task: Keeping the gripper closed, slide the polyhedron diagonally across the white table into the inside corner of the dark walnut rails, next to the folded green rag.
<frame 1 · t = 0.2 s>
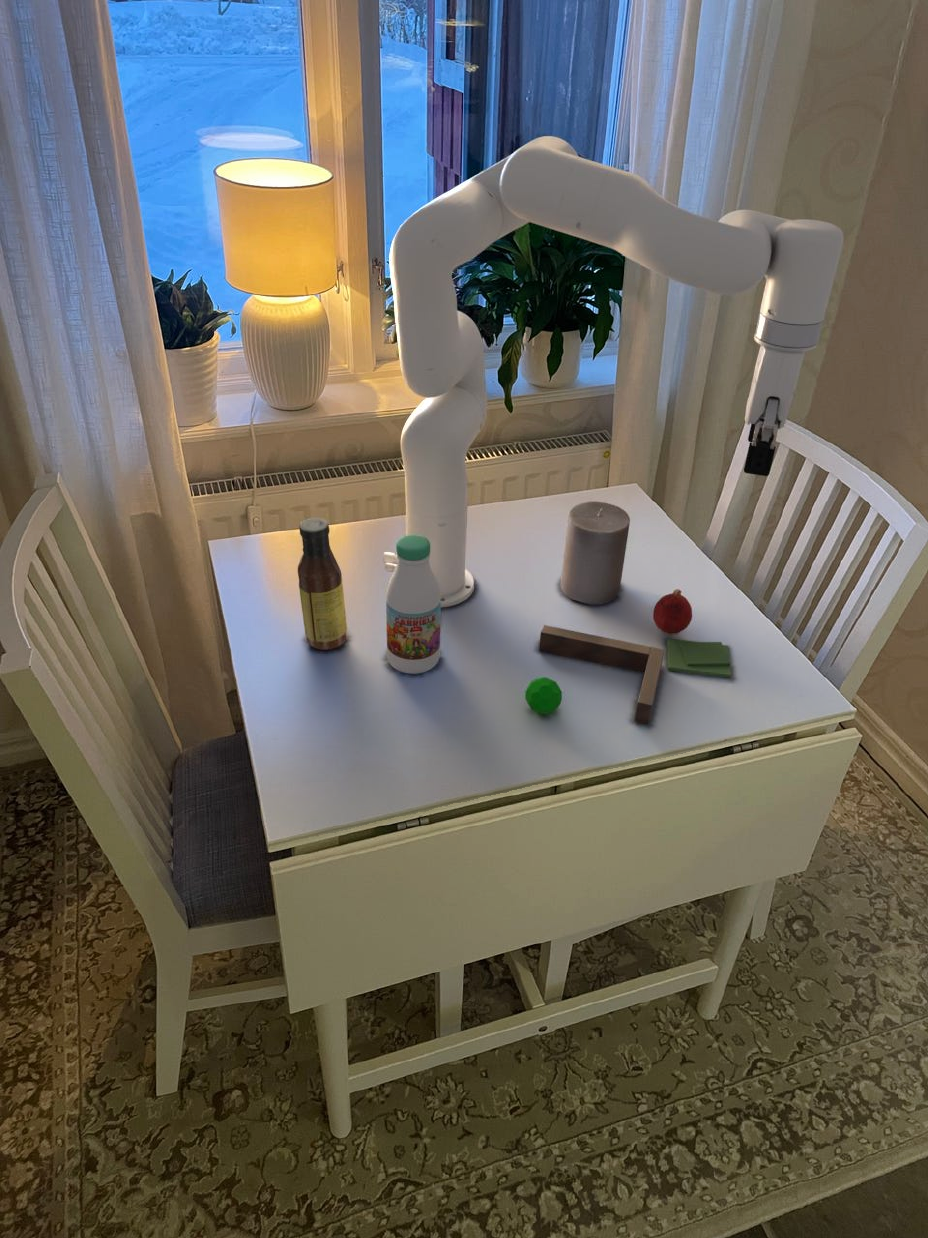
hand: (757, 457, 124), 31 cm above the table, tool pointing down, fingers open, 9 cm apart
sauce bottle: (325, 640, 140), on the table
pillar candle: (589, 589, 153), on the table
milk bottle: (413, 659, 137), on the table
polyhedron: (542, 709, 129), on the table
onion: (668, 634, 144), on the table
green rag: (698, 659, 139), on the table
corner stop: (599, 681, 134), on the table
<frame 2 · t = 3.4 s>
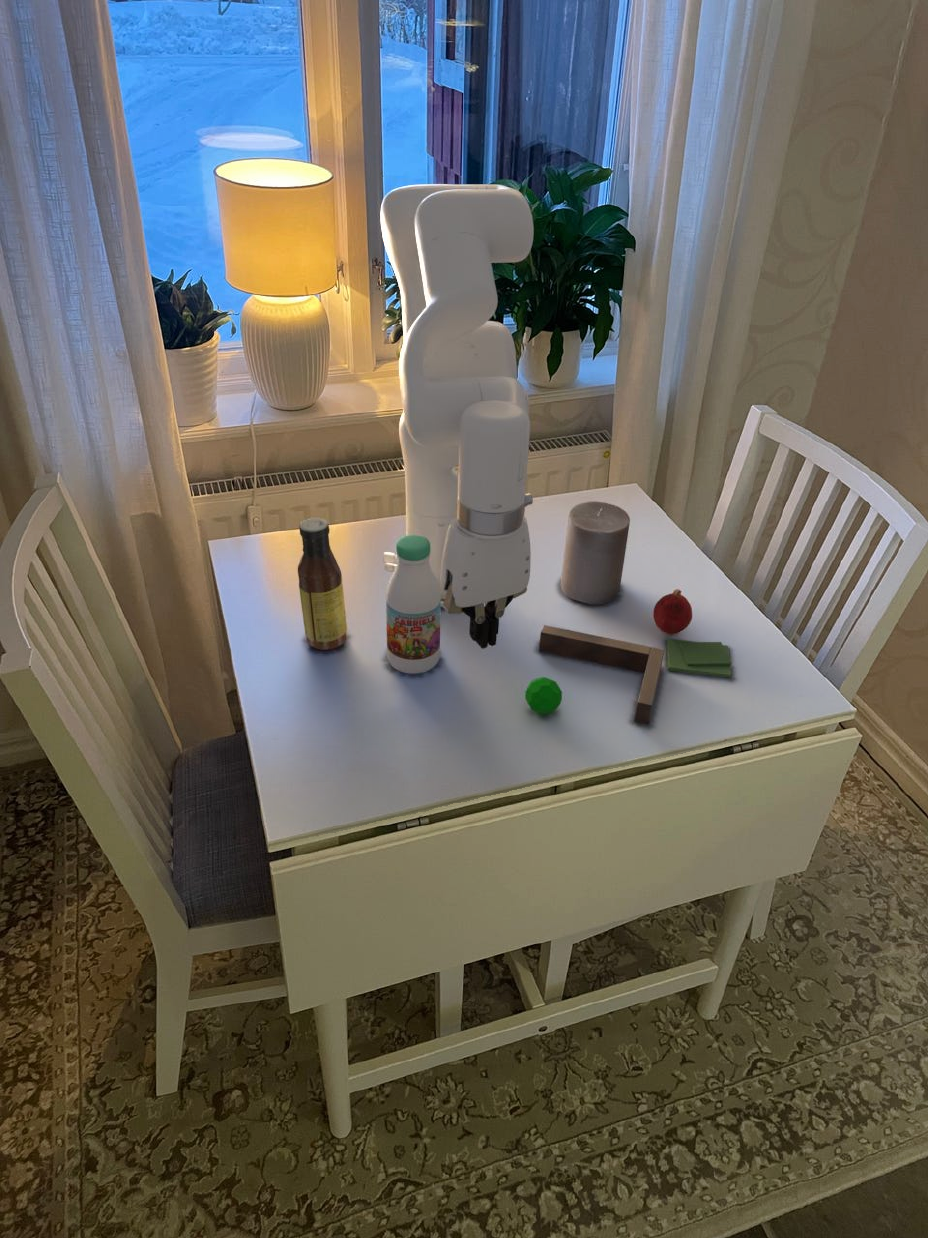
hand: (483, 640, 116), 15 cm above the table, tool pointing down, fingers closed
nothing on the table moved.
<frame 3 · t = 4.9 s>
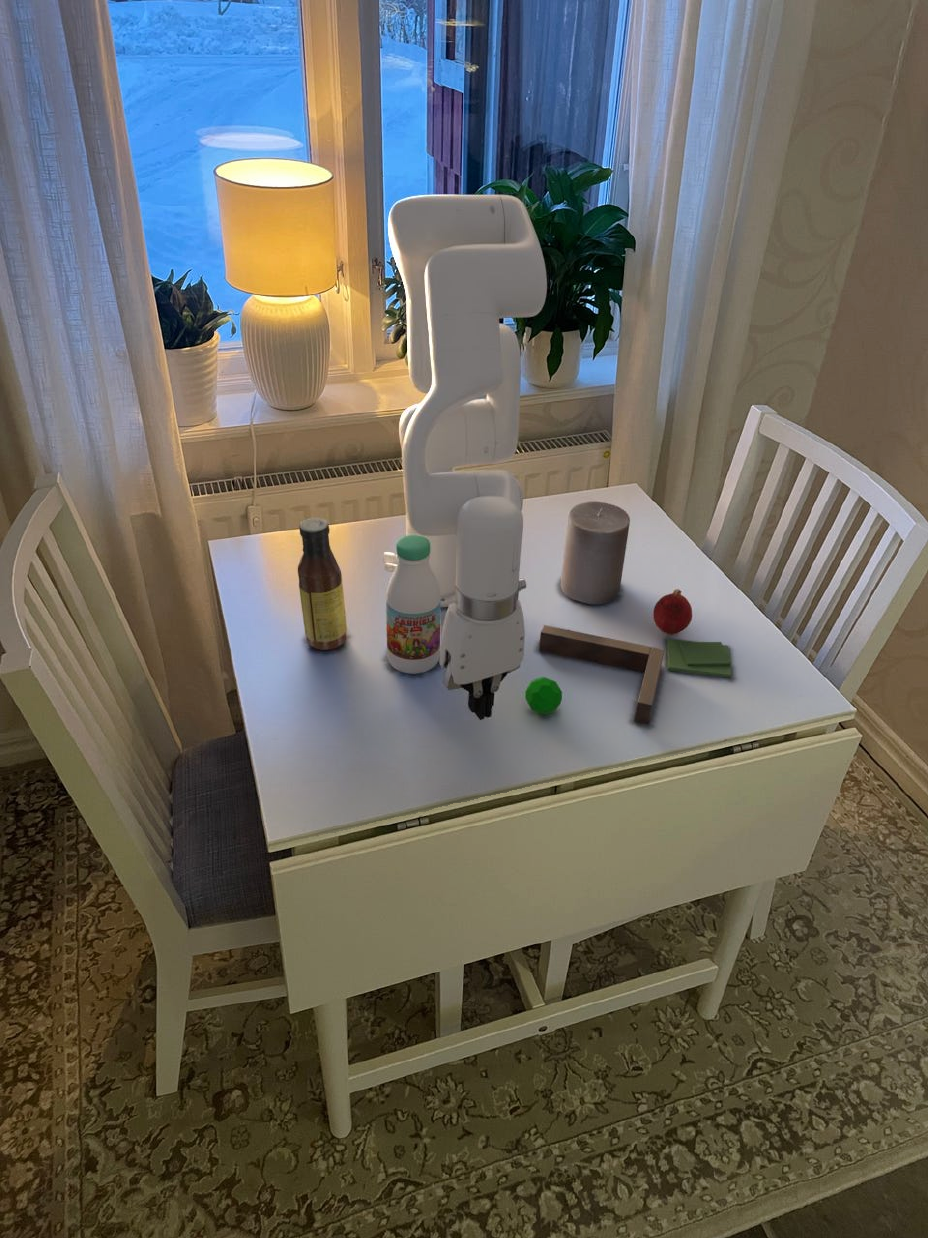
hand: (480, 712, 123), 3 cm above the table, tool pointing down, fingers closed
nothing on the table moved.
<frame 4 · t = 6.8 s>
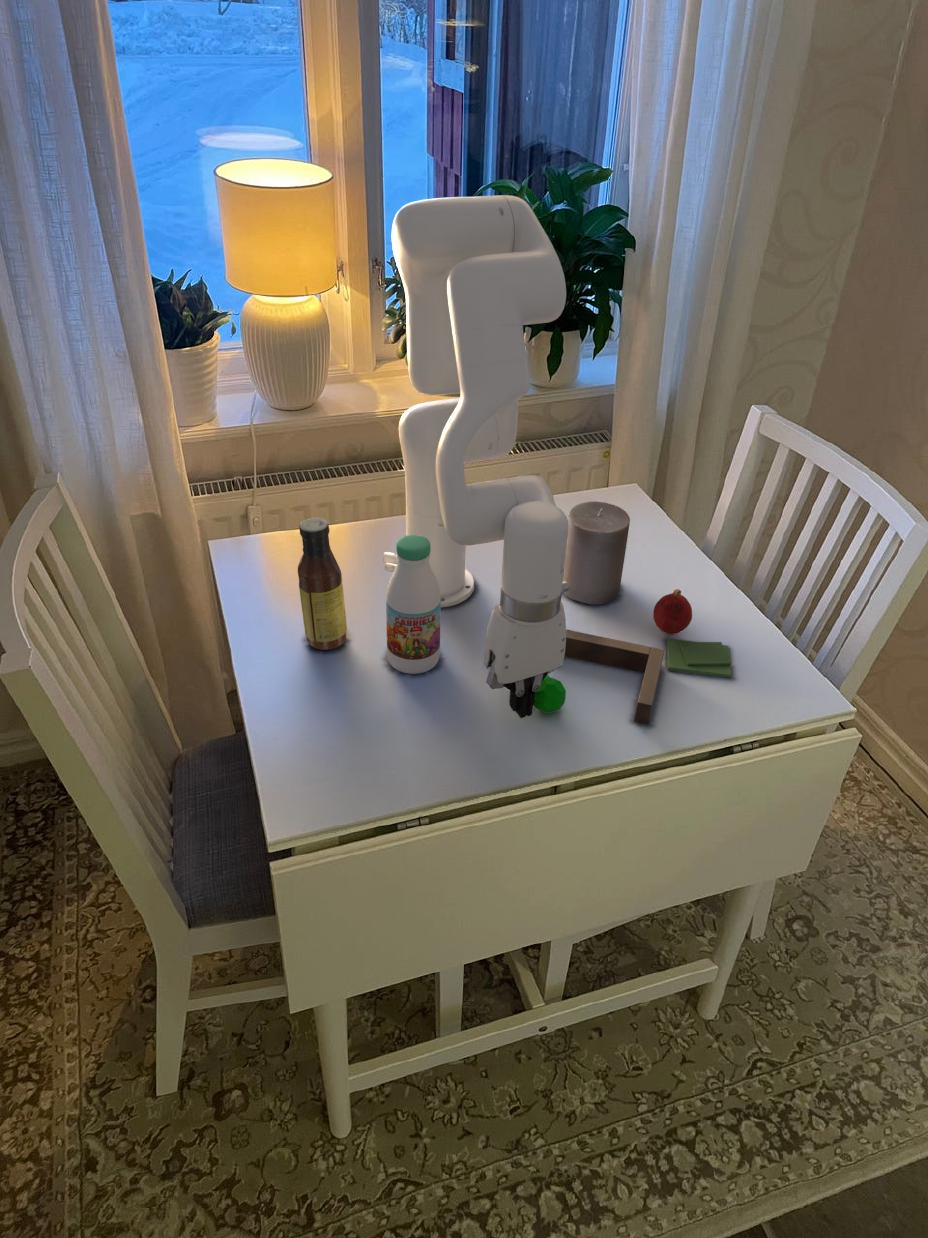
hand: (521, 710, 126), 1 cm above the table, tool pointing down, fingers closed
polyhedron: (545, 709, 129), on the table, touching gripper
everything else where it was.
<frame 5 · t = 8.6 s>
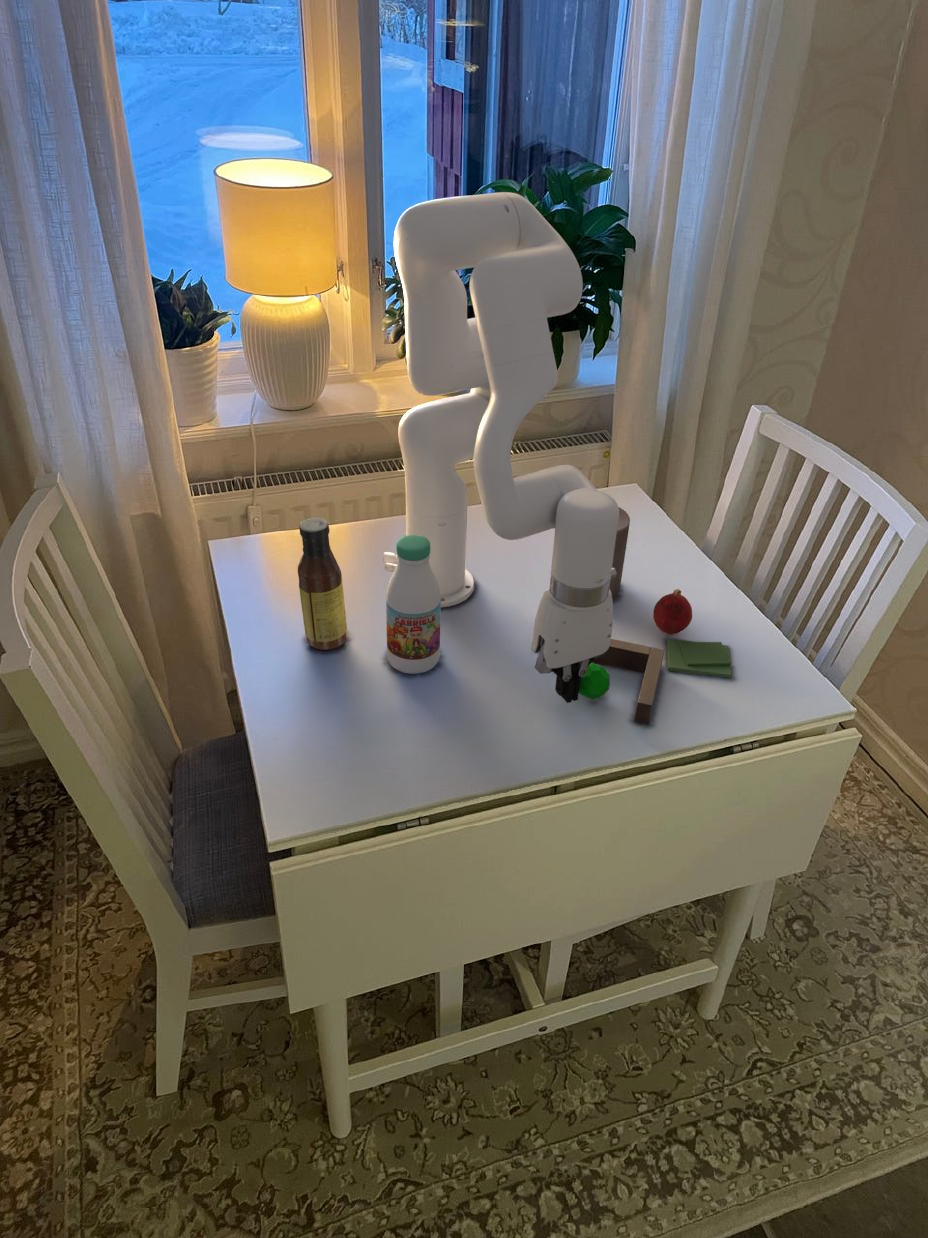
hand: (566, 695, 129), 1 cm above the table, tool pointing down, fingers closed
polyhedron: (589, 695, 131), on the table, touching gripper
everything else where it was.
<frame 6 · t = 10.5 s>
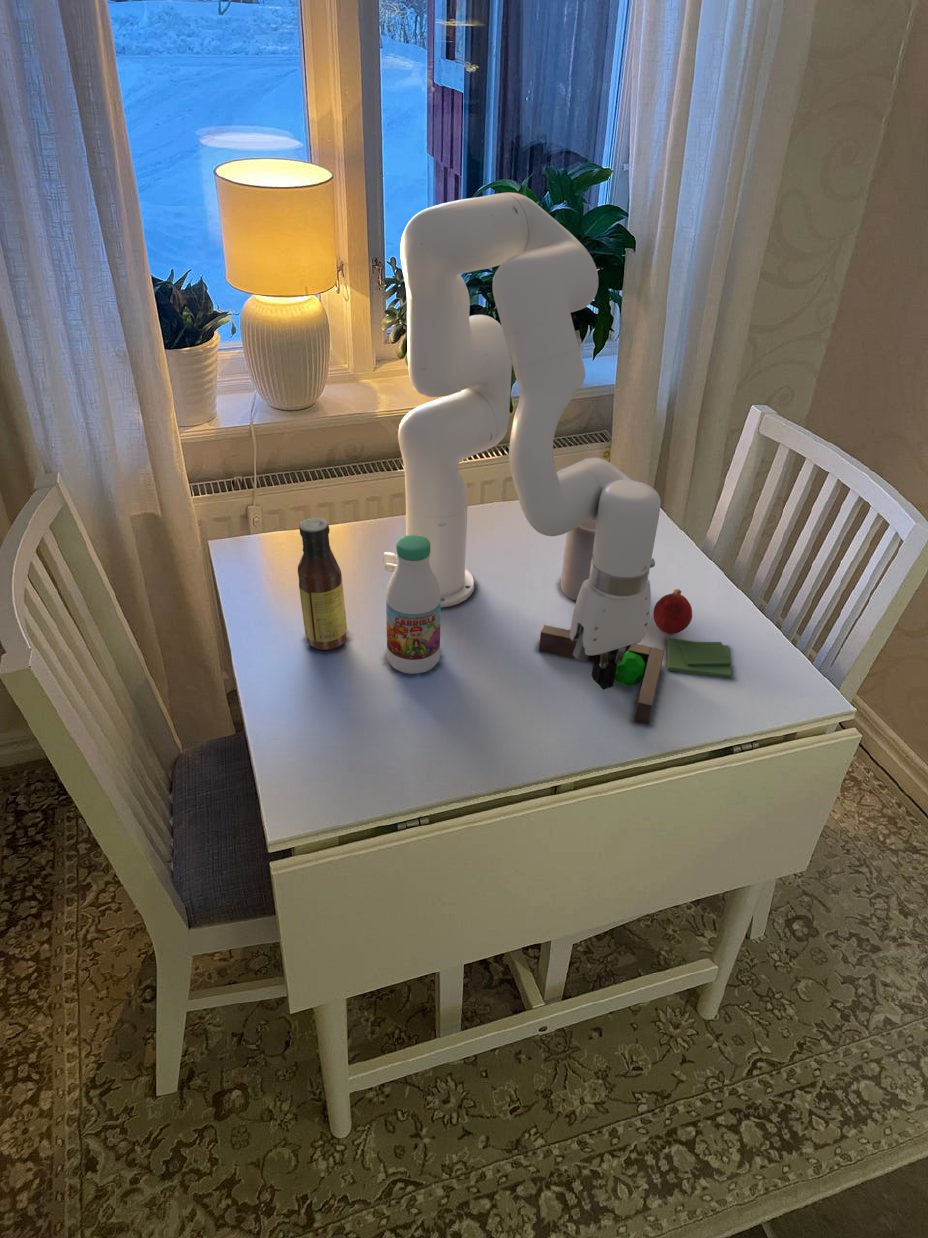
hand: (602, 682, 132), 1 cm above the table, tool pointing down, fingers closed
polyhedron: (625, 682, 134), on the table, touching corner stop, gripper
everything else where it was.
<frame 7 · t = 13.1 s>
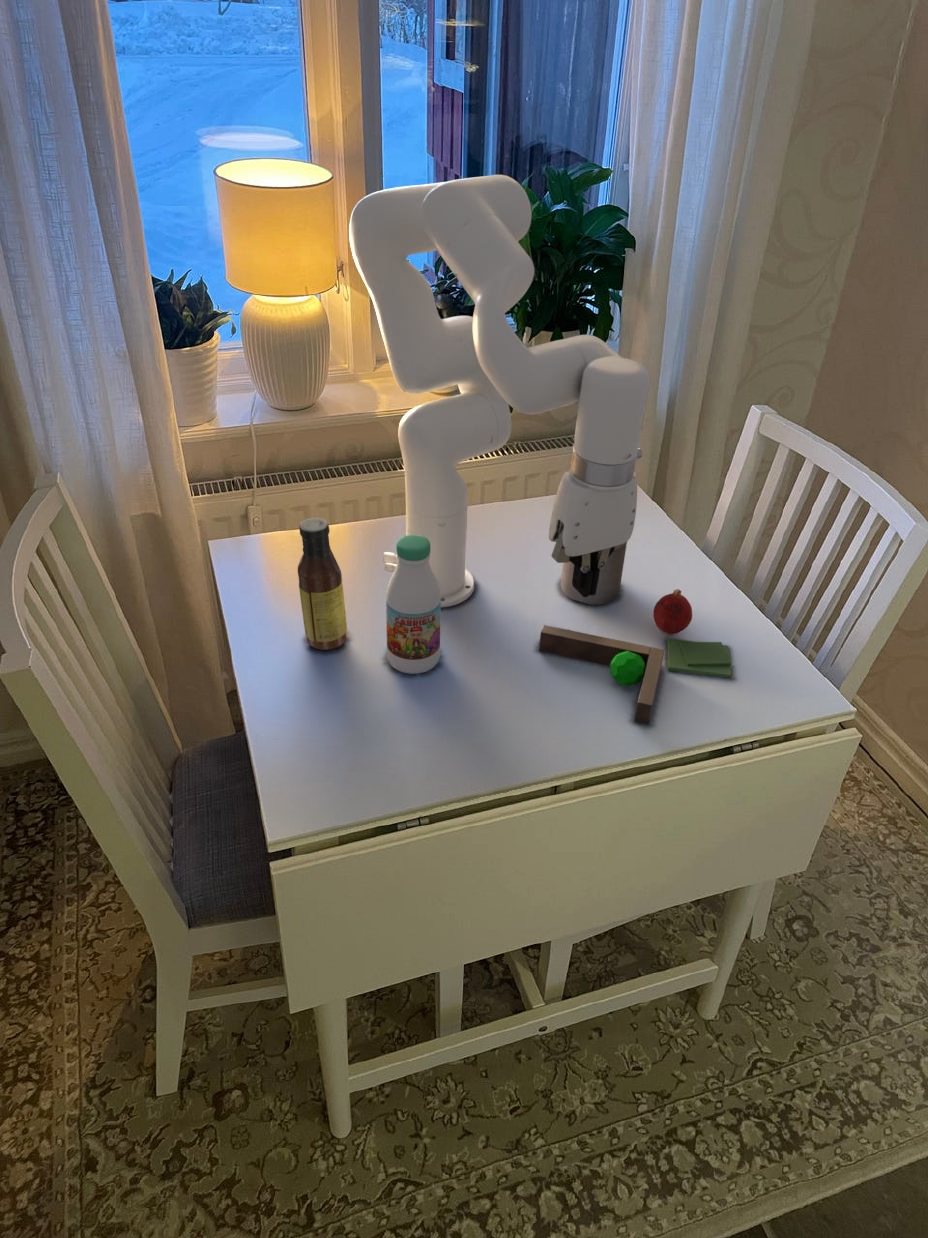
hand: (583, 590, 121), 17 cm above the table, tool pointing down, fingers closed
polyhedron: (625, 682, 134), on the table, touching corner stop
everything else where it was.
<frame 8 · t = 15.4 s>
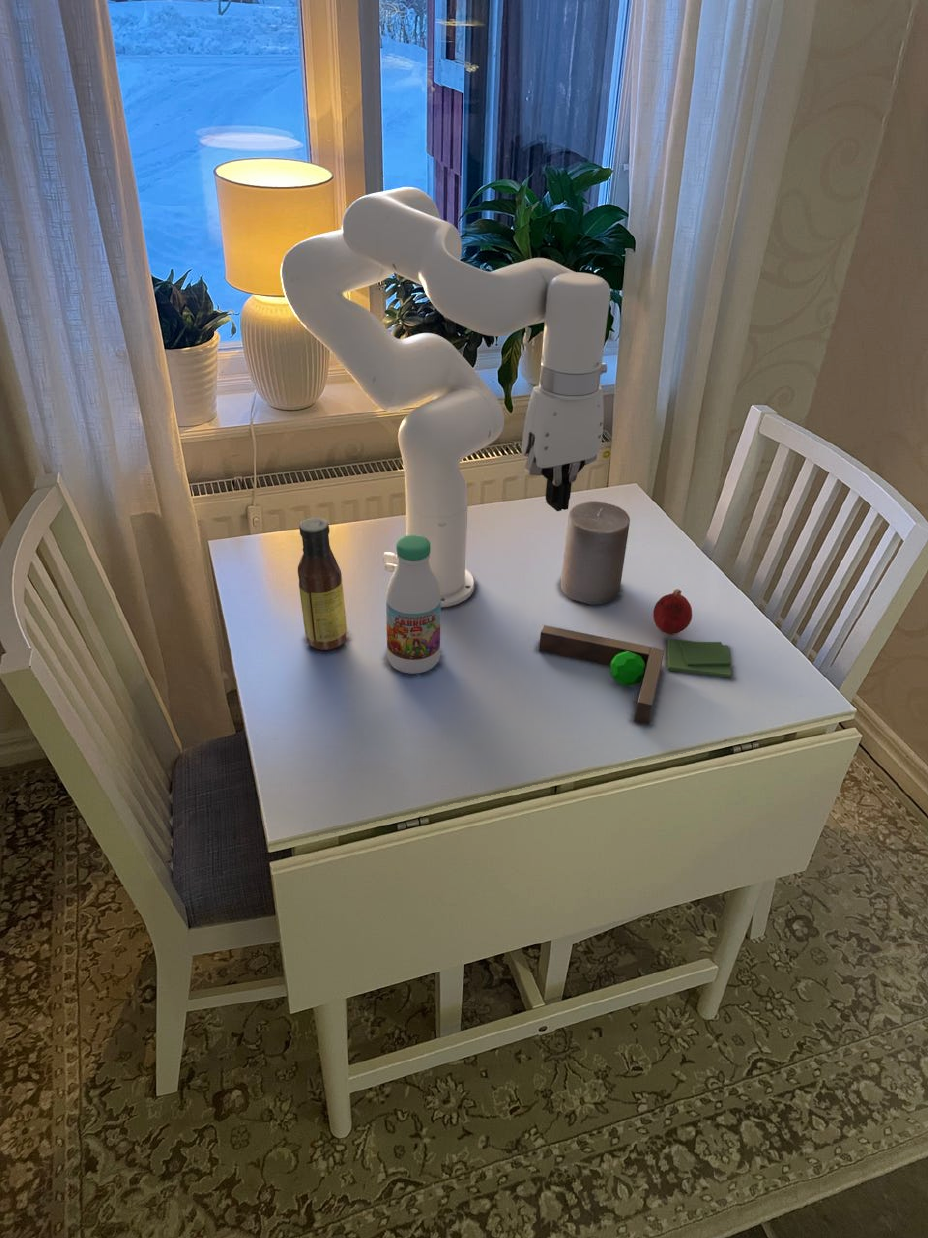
hand: (556, 505, 128), 23 cm above the table, tool pointing down, fingers closed
polyhedron: (625, 682, 134), on the table
everything else where it was.
at the end: polyhedron 0.3 cm from the target spot, on the table; polyhedron moved 13.9 cm from its start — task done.
